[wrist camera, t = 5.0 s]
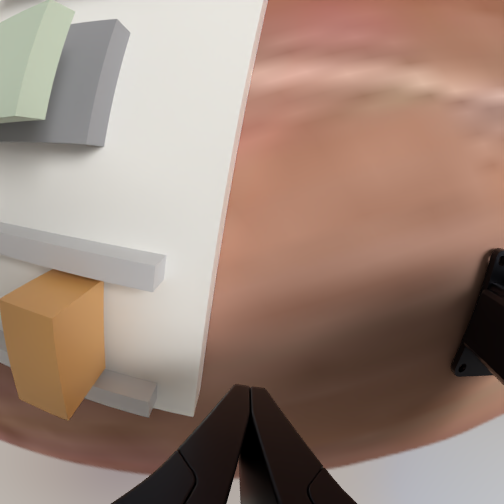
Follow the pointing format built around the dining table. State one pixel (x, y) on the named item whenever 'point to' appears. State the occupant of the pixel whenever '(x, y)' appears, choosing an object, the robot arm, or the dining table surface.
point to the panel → (134, 181)
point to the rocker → (31, 59)
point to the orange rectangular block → (55, 339)
